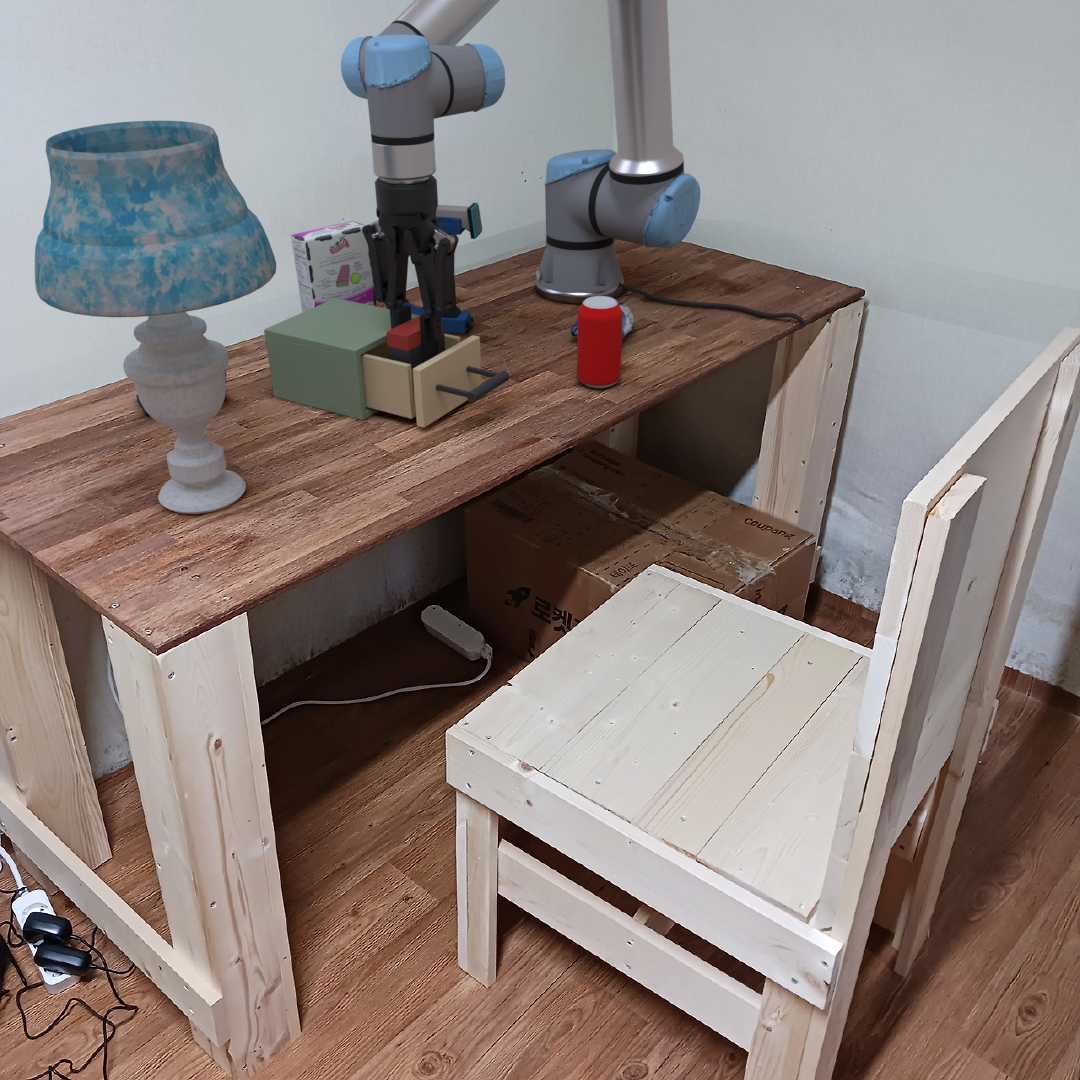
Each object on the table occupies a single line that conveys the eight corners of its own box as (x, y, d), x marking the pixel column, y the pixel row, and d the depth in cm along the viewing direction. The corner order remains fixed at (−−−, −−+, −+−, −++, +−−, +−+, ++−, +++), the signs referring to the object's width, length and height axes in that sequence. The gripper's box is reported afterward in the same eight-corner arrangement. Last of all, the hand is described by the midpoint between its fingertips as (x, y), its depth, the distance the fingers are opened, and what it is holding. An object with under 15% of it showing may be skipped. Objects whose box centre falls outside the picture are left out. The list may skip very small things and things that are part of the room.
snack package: (662, 341, 166) (618, 317, 174) (660, 303, 162) (614, 281, 170) (600, 369, 162) (557, 344, 170) (595, 331, 158) (552, 307, 166)
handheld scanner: (479, 335, 168) (475, 208, 158) (382, 329, 171) (372, 204, 161) (486, 326, 172) (483, 201, 162) (391, 320, 175) (382, 197, 165)
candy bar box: (363, 320, 175) (352, 219, 166) (380, 328, 171) (370, 225, 163) (303, 337, 168) (289, 233, 160) (319, 346, 165) (306, 239, 156)
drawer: (521, 400, 145) (520, 344, 141) (464, 438, 135) (461, 380, 131) (397, 370, 154) (393, 318, 150) (336, 404, 144) (329, 349, 140)
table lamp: (214, 433, 139) (153, 105, 118) (349, 482, 127) (308, 128, 106) (51, 509, 122) (-53, 143, 101) (189, 573, 111) (103, 175, 90)
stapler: (425, 348, 145) (423, 313, 143) (445, 353, 144) (443, 317, 141) (389, 368, 140) (386, 331, 137) (410, 373, 138) (407, 336, 135)
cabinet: (428, 382, 153) (423, 316, 148) (362, 420, 142) (355, 350, 137) (342, 361, 160) (335, 297, 155) (273, 396, 149) (263, 329, 144)
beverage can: (627, 379, 153) (630, 298, 147) (608, 394, 148) (610, 311, 142) (589, 371, 156) (590, 291, 149) (569, 386, 151) (569, 304, 145)
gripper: (479, 177, 129) (485, 360, 141) (371, 163, 136) (386, 338, 148) (443, 191, 123) (453, 380, 135) (332, 175, 130) (351, 356, 143)
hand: (418, 358), depth 142 cm, fingers closed on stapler, 3 cm apart
